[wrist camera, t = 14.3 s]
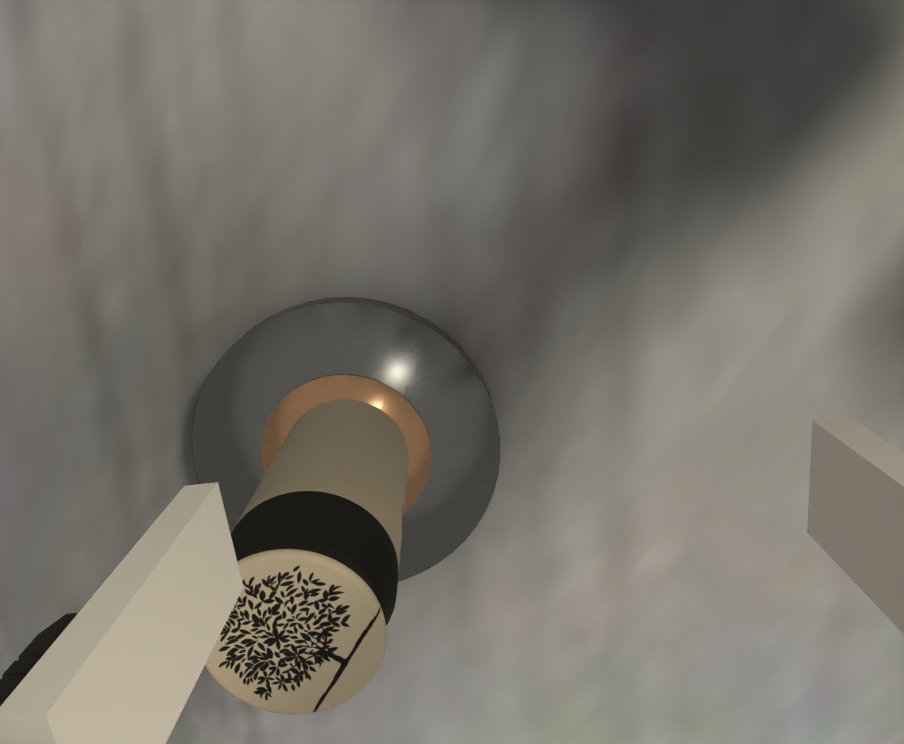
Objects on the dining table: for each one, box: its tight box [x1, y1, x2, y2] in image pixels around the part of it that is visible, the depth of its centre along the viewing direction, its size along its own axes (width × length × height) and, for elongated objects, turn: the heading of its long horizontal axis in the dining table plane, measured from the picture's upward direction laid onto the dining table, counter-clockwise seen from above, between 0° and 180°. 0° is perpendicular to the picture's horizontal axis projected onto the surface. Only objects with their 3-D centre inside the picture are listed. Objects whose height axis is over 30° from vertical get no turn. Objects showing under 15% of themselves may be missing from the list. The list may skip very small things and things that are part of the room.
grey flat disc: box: [192, 298, 500, 581], centre depth 45 cm, size 20×20×2 cm
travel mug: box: [205, 399, 409, 714], centre depth 35 cm, size 8×8×18 cm
